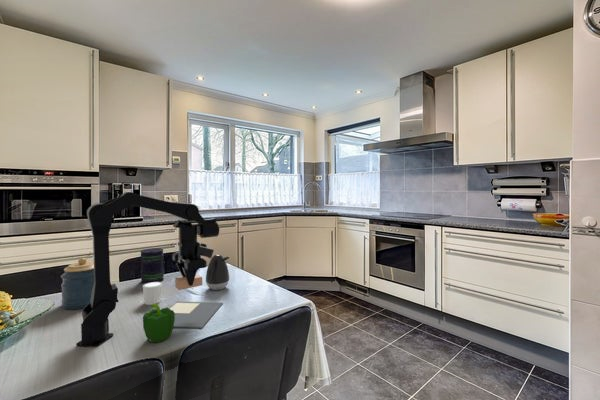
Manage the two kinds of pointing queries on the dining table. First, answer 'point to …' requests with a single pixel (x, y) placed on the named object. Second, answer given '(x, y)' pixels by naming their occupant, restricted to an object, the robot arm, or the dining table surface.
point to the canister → (77, 284)
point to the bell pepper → (158, 323)
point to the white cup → (152, 292)
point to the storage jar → (152, 265)
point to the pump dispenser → (217, 273)
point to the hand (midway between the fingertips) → (188, 283)
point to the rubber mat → (193, 313)
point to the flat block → (183, 284)
